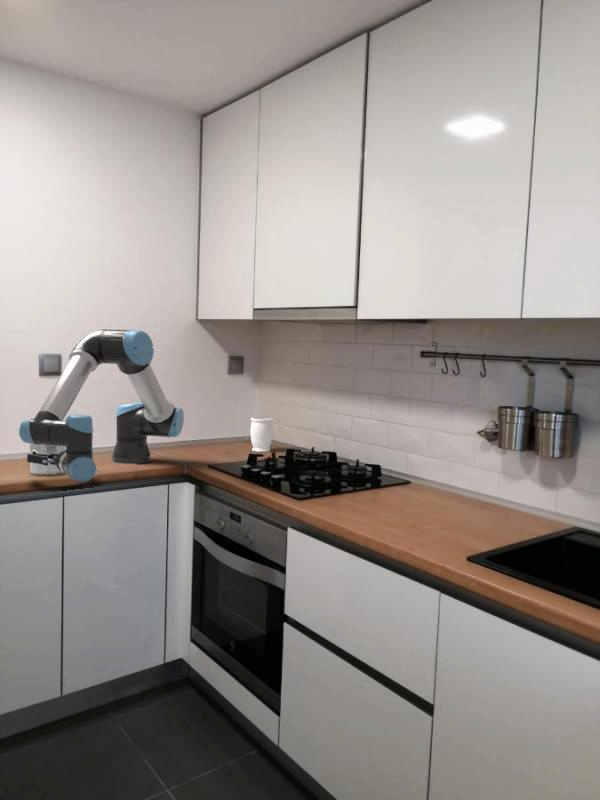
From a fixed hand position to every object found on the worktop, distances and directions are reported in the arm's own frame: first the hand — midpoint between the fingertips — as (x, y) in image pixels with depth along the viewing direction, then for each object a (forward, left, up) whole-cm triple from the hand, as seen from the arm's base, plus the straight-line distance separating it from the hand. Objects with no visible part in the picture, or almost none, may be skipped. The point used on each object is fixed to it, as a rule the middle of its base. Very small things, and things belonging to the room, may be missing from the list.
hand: (54, 452), depth 215 cm
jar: (-96, -23, -9) cm, 99 cm away
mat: (-11, -9, -8) cm, 17 cm away
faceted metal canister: (0, -9, -8) cm, 12 cm away
